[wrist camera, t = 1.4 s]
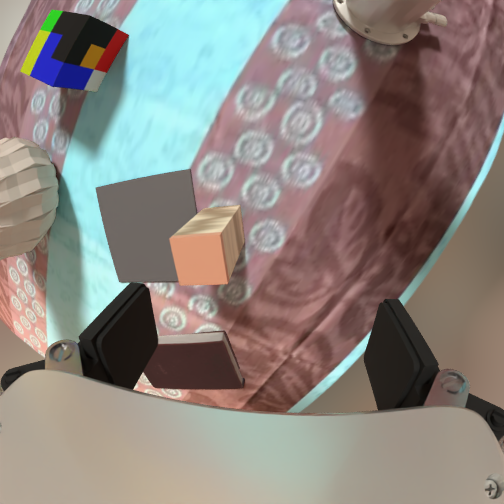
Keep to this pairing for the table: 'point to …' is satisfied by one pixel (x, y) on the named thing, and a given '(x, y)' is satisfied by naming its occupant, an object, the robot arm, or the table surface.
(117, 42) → the puzzle toy
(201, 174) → the table surface
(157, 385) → the book
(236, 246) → the tall block
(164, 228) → the mat
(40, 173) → the vase
